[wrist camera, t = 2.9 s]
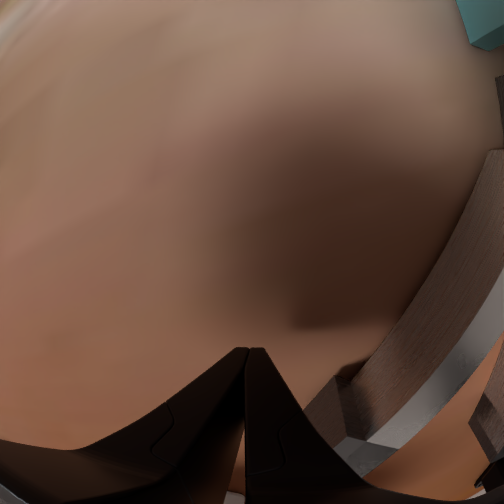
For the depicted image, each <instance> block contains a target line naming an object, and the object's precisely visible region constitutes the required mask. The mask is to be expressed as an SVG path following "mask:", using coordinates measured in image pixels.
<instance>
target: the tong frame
mask: <svg viewBox="0 0 504 504" xmlns="http://www.w3.org/2000/svg"><path fill="white" fill-rule="evenodd" d="M495 80H496V85H497V90H498V96H499V102H500V109H501V116H502V125H503V135H504V75H501V76H499V77H496V78H495ZM468 424H469V426H470V427H471V429H472V431H473V432H474V434H475V436H476V438H477V440H478V441H479V443H480V445H481V447H482V449H483V450H484V452H485V454H486V456H487V458H488V460H489V462H490V464H491V463H493V462H495V461H497V460H499V459H501V458H503V457H504V343H503V346H502V349H501V352H500V354H499V357H498V360H497V362H496V365H495V367H494V370H493V372H492V375H491V377H490V379H489V382H488V384H487V386H486V388H485V391H484V393H483V395H482V397H481V399H480V401H479V403H478V405H477V407H476V409H475V411H474V413H473V415H472V417H471V419H470V421H469V422H468Z"/></svg>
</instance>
